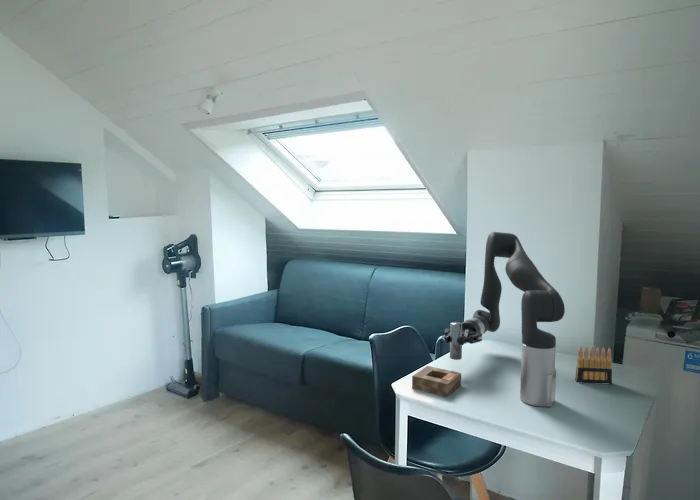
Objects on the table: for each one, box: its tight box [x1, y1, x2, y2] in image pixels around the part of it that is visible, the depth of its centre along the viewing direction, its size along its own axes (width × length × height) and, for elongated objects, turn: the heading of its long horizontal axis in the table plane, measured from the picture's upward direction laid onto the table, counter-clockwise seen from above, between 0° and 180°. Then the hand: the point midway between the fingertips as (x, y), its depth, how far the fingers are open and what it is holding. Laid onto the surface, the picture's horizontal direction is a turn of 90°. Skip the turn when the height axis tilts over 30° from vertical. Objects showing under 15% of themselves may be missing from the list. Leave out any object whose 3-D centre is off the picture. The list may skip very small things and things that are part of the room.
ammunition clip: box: [574, 346, 613, 385], centre depth 152 cm, size 11×2×12 cm, turn 82°
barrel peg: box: [449, 321, 463, 361], centre depth 158 cm, size 4×4×12 cm
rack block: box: [411, 365, 462, 398], centre depth 149 cm, size 12×11×4 cm
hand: (452, 341), depth 156 cm, fingers closed on barrel peg, 4 cm apart
